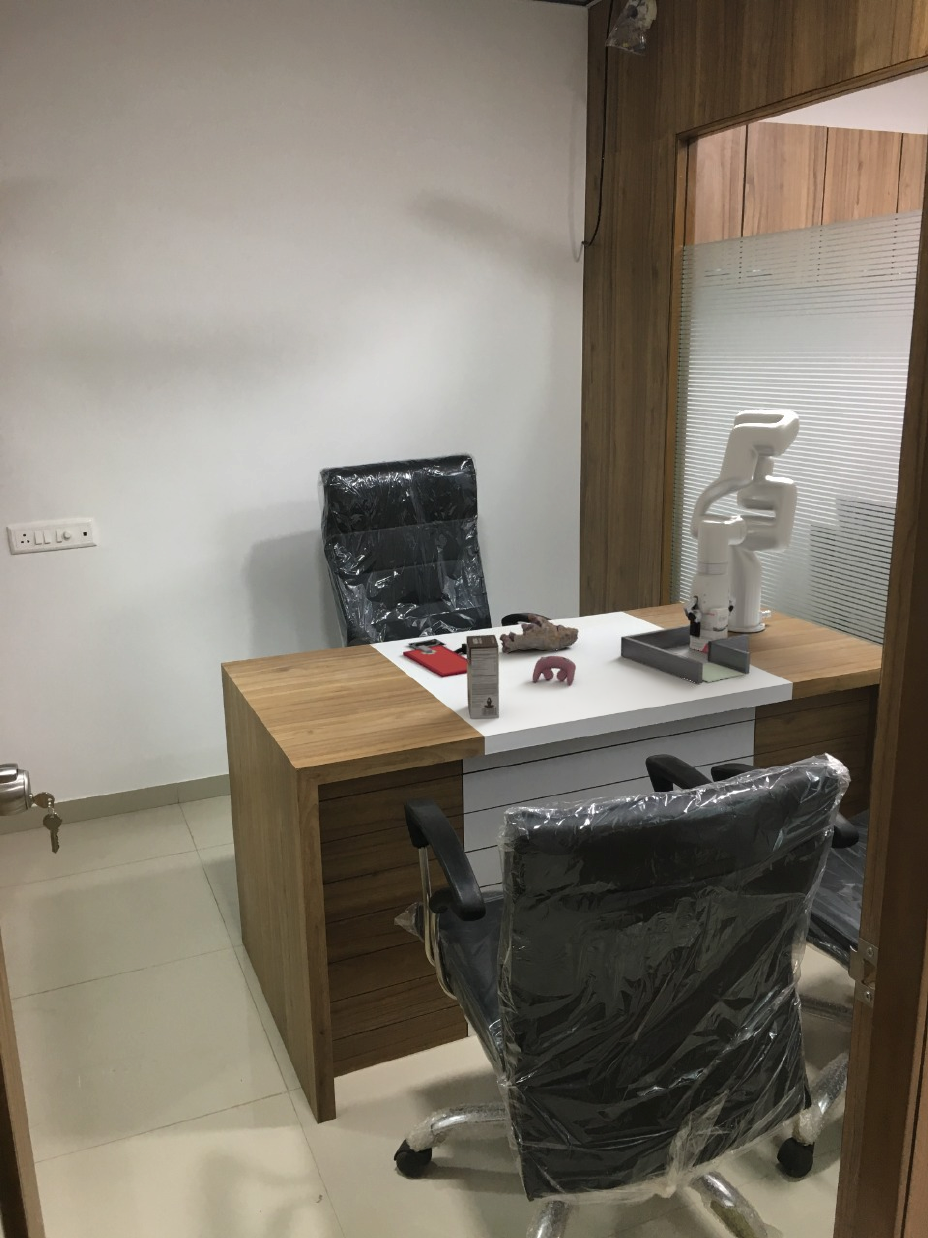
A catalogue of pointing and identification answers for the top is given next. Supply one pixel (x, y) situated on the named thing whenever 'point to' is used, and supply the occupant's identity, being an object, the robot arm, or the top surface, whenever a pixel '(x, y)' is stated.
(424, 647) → the red board with handle
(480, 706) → the coffee box
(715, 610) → the ink box
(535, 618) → the mineral specimen
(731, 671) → the pad
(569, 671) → the video game controller
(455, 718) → the top surface
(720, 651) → the gray open tray
